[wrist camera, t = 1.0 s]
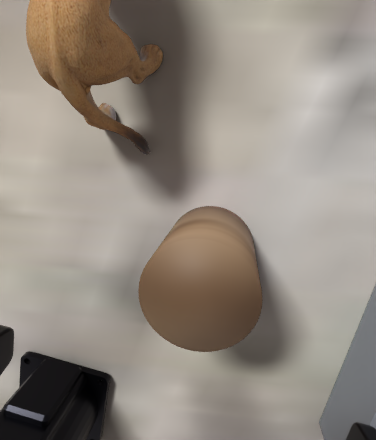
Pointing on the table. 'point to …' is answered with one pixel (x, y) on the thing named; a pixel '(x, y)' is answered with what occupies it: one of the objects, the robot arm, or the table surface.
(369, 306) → the low wall
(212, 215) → the brown rounded cylinder
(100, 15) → the lion figurine
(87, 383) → the robot arm
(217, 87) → the table surface
